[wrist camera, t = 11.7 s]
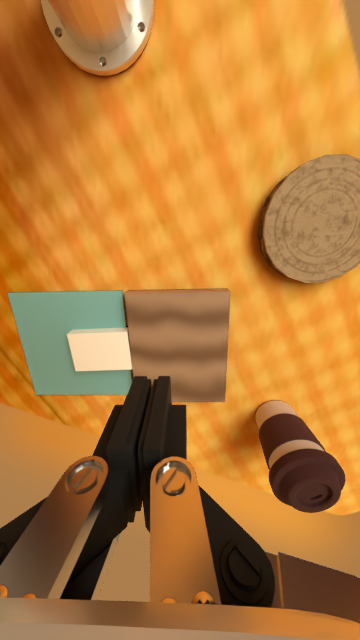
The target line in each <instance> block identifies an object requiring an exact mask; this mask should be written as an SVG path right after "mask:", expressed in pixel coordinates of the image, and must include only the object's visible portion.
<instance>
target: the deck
mask: <svg viewBox="0 0 360 640" xmlns="http://www.w3.org/2000/svg"><path fill="white" fill-rule="evenodd" d="M125 302H126V312H127V321H128V330H129V340H130V349H131V358H132V368H133V377H135V376H147V379H151V382H152V385H153V381H154V379H158V377H159V376H170V378H171V400H172V402H225V390H226V370H227V350H228V329H229V309H230V291H229V290H228V288H223V289H169V290H128V291H127V292H126V293H125Z"/></svg>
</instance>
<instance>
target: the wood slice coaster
mask: <svg viewBox="0 0 360 640" xmlns="http://www.w3.org/2000/svg"><path fill="white" fill-rule="evenodd" d="M258 239H259V243H260V248H261V252H262V254H263V256H264V257H265V259H266V260H267V262H268V264H269V265H270V266H271V267H272V268H273V269H275V270H276V271H277V272H278V273H280V274H281V275H283V276H286V277H289V278H292V279H295V280H298V281H301V282H304V283H322V282H326V281H329V280H332V279H335V278H339V277H341V276H342V275H344V274H346V273H347V272H349V271H350V270H352V269H354V268H355V267H357V266H358V265H359V264H360V159H358V158H355V157H353V156H350V155H347V154H340V155H325V156H322V157H319V158H317V159H314V160H311V161H309V162H306V163H304V164H303V165H301V166H300V167H298V168H297V169H295V170H294V171H293V172H292V173H290V174H289V175H288V176H286V177H285V178H284V179H282V180H281V181H280V182H279V183H278V184H277V186H276V187H275V188H274V190H273V191H272V192H271V194H270V195H269V196H268V198H267V199H266V202H265V204H264V207H263V210H262V212H261V215H260V218H259V228H258Z"/></svg>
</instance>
